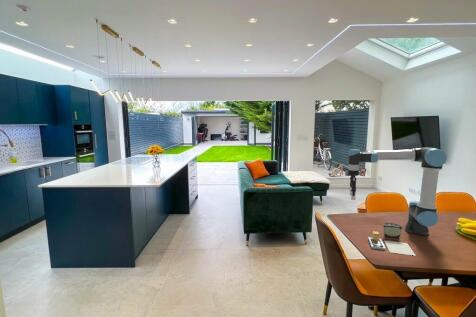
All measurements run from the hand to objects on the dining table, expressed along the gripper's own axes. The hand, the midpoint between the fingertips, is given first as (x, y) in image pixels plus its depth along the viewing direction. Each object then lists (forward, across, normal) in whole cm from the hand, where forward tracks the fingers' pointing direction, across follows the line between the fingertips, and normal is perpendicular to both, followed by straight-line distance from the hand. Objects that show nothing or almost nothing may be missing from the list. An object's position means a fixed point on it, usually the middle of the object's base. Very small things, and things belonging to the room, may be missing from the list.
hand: (352, 197), depth 192 cm
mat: (+26, +20, +27) cm, 43 cm away
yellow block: (+24, +16, +14) cm, 32 cm away
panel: (+26, +20, +14) cm, 36 cm away
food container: (+27, +3, +26) cm, 38 cm away
